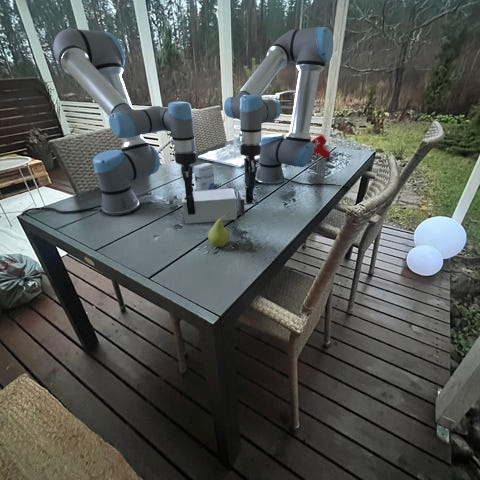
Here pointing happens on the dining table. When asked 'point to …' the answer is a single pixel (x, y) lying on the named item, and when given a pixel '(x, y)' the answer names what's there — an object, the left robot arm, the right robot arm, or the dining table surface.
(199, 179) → the ink box
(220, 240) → the fruit
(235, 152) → the relief map
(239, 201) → the drawer
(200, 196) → the cabinet
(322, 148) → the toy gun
